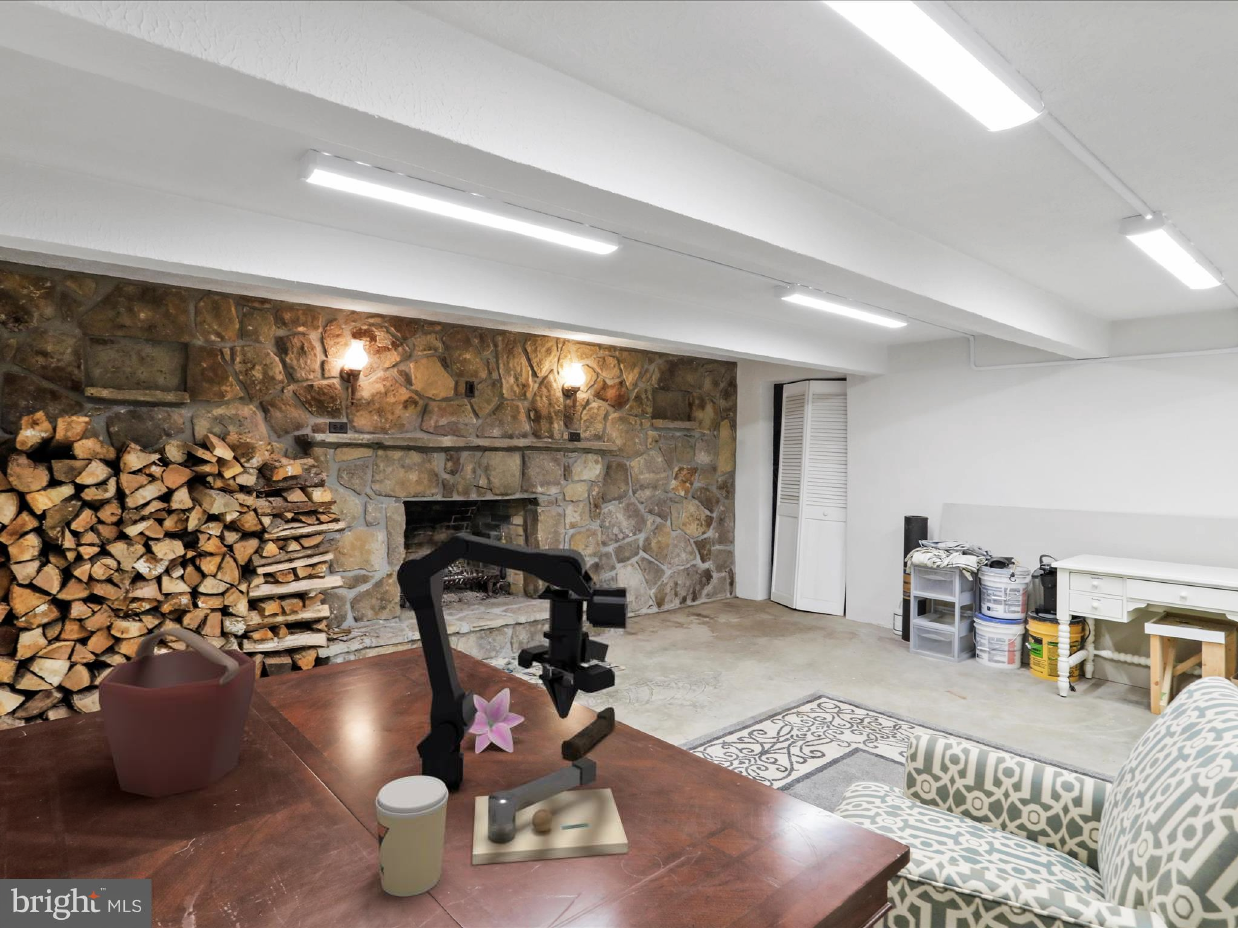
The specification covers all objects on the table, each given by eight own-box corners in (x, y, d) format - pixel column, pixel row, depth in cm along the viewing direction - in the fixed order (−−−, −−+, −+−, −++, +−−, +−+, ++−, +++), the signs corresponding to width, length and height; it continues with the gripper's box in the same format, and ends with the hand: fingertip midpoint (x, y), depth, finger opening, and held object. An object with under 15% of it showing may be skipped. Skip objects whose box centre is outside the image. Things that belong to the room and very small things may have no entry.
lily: (445, 753, 136) (452, 719, 131) (473, 709, 146) (480, 676, 141) (503, 777, 134) (511, 744, 130) (526, 731, 144) (535, 699, 140)
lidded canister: (384, 858, 100) (385, 774, 99) (451, 856, 101) (453, 773, 100) (366, 901, 90) (367, 809, 90) (440, 899, 91) (442, 808, 91)
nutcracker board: (472, 864, 99) (473, 832, 99) (475, 805, 115) (476, 778, 114) (627, 852, 103) (628, 822, 102) (610, 797, 118) (610, 770, 118)
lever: (498, 845, 101) (498, 805, 100) (482, 834, 103) (482, 795, 103) (598, 798, 114) (599, 763, 114) (581, 789, 117) (582, 755, 117)
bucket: (271, 777, 122) (272, 633, 121) (117, 826, 106) (117, 661, 105) (222, 734, 139) (222, 608, 138) (82, 771, 123) (82, 628, 122)
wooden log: (578, 764, 130) (579, 739, 130) (560, 759, 132) (560, 734, 132) (625, 728, 147) (626, 706, 147) (608, 724, 149) (609, 703, 149)
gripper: (639, 629, 118) (636, 721, 119) (565, 607, 131) (563, 691, 132) (590, 641, 110) (588, 740, 111) (516, 617, 123) (514, 706, 124)
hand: (563, 717), depth 119 cm, fingers closed
